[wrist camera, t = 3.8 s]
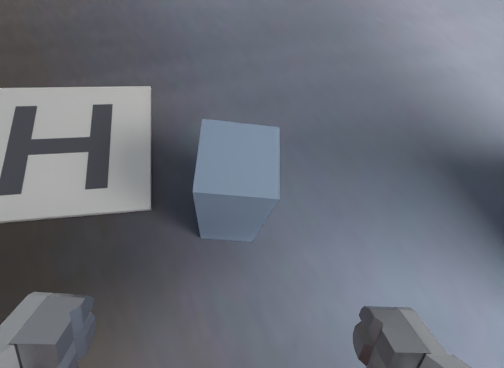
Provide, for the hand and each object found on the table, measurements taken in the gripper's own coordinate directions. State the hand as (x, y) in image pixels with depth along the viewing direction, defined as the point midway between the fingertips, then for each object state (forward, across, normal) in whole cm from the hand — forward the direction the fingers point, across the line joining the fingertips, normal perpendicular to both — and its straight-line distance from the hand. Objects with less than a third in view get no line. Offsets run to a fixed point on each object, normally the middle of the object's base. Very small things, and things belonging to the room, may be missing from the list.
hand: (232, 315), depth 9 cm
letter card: (+17, +14, +1) cm, 22 cm away
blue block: (+14, 0, +4) cm, 14 cm away
